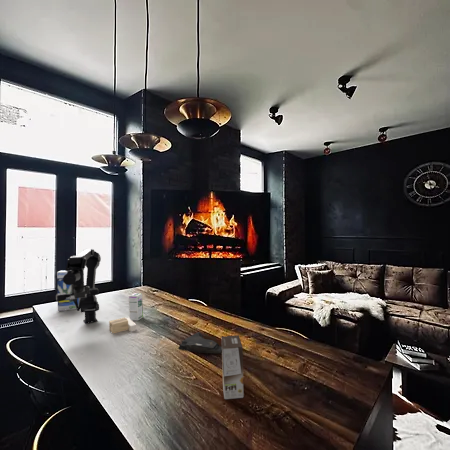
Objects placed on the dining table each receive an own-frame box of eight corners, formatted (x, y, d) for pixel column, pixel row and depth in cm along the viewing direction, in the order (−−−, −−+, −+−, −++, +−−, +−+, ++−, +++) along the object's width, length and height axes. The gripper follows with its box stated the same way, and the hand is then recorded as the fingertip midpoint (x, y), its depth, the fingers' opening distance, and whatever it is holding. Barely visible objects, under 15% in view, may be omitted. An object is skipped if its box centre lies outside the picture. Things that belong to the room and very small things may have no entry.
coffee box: (244, 398, 81) (243, 347, 81) (224, 399, 81) (222, 348, 81) (240, 380, 90) (239, 334, 90) (222, 381, 90) (220, 335, 90)
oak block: (109, 330, 137) (109, 321, 137) (125, 326, 142) (124, 317, 142) (112, 334, 132) (112, 324, 132) (128, 329, 137) (128, 320, 137)
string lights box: (57, 311, 170) (56, 272, 170) (61, 307, 178) (60, 270, 178) (79, 309, 174) (78, 270, 173) (82, 305, 181) (81, 268, 181)
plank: (122, 323, 145) (122, 318, 145) (128, 322, 147) (128, 317, 147) (130, 331, 134) (130, 326, 134) (136, 330, 136) (136, 324, 136)
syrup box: (138, 320, 149) (137, 295, 149) (129, 320, 151) (128, 295, 151) (143, 317, 155) (142, 293, 155) (134, 316, 156) (133, 292, 156)
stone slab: (233, 352, 115) (233, 341, 114) (207, 369, 102) (207, 357, 102) (199, 334, 130) (199, 325, 129) (172, 347, 117) (172, 337, 117)
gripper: (57, 286, 121) (58, 319, 121) (100, 280, 132) (101, 310, 132) (55, 282, 130) (56, 313, 130) (96, 277, 141) (97, 305, 141)
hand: (78, 310), depth 133 cm, fingers closed
